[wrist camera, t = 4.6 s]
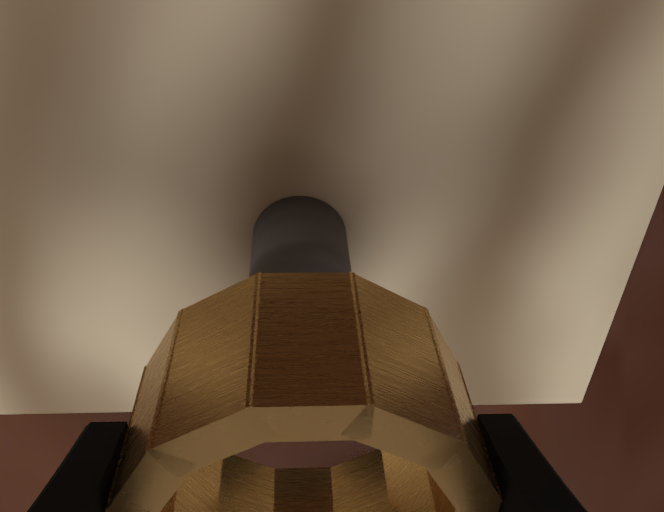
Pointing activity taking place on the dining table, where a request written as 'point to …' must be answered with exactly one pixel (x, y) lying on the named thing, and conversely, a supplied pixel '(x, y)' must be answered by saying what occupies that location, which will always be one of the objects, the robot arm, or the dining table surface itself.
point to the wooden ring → (303, 405)
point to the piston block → (322, 175)
